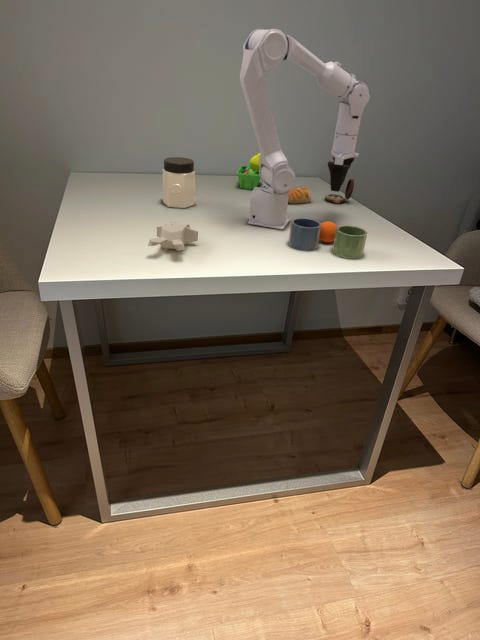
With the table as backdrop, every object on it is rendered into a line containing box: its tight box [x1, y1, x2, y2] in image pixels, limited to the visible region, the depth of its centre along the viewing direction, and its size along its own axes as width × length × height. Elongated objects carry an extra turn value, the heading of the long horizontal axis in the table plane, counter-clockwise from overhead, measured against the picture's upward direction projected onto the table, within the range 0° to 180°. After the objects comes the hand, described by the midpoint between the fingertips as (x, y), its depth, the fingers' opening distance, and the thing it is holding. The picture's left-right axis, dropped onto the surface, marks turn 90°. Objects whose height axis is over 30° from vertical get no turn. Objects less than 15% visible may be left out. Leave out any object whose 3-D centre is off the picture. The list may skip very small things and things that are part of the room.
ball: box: [319, 220, 338, 243], centre depth 114 cm, size 5×5×5 cm
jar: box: [162, 156, 196, 209], centre depth 129 cm, size 9×8×12 cm
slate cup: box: [288, 217, 322, 252], centre depth 111 cm, size 7×7×6 cm
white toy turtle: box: [147, 221, 199, 252], centre depth 104 cm, size 10×5×15 cm
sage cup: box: [332, 224, 368, 260], centre depth 108 cm, size 7×7×6 cm
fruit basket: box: [236, 151, 261, 190], centre depth 152 cm, size 11×9×11 cm
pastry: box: [288, 187, 312, 205], centre depth 142 cm, size 9×7×4 cm
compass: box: [324, 177, 355, 204], centre depth 144 cm, size 8×8×7 cm
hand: (336, 187), depth 125 cm, fingers open, 7 cm apart
